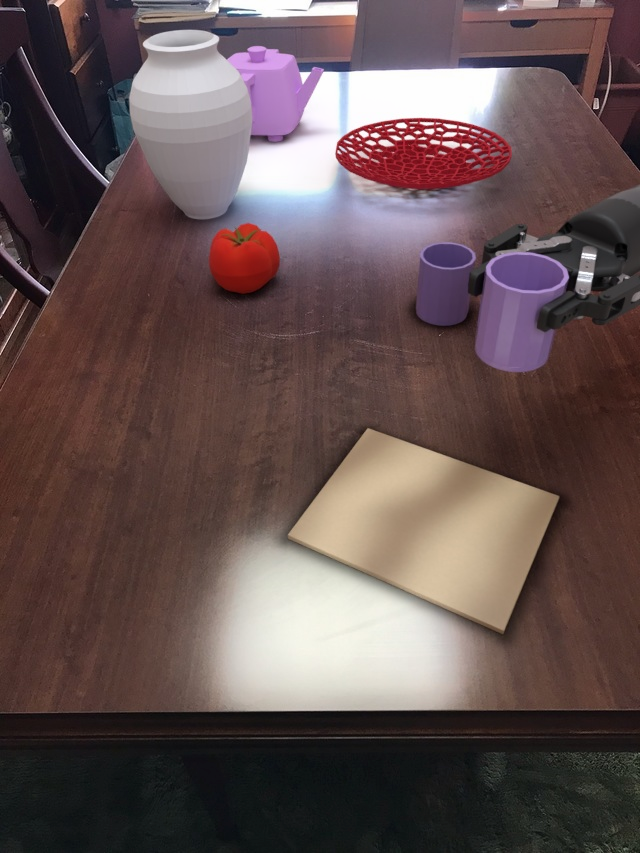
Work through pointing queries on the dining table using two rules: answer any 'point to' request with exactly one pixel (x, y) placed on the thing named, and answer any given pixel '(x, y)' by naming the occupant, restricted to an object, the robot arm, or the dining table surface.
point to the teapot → (274, 90)
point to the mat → (430, 526)
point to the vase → (192, 120)
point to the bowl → (423, 154)
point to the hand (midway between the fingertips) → (506, 302)
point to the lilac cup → (444, 283)
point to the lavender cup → (517, 310)
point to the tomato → (243, 258)
